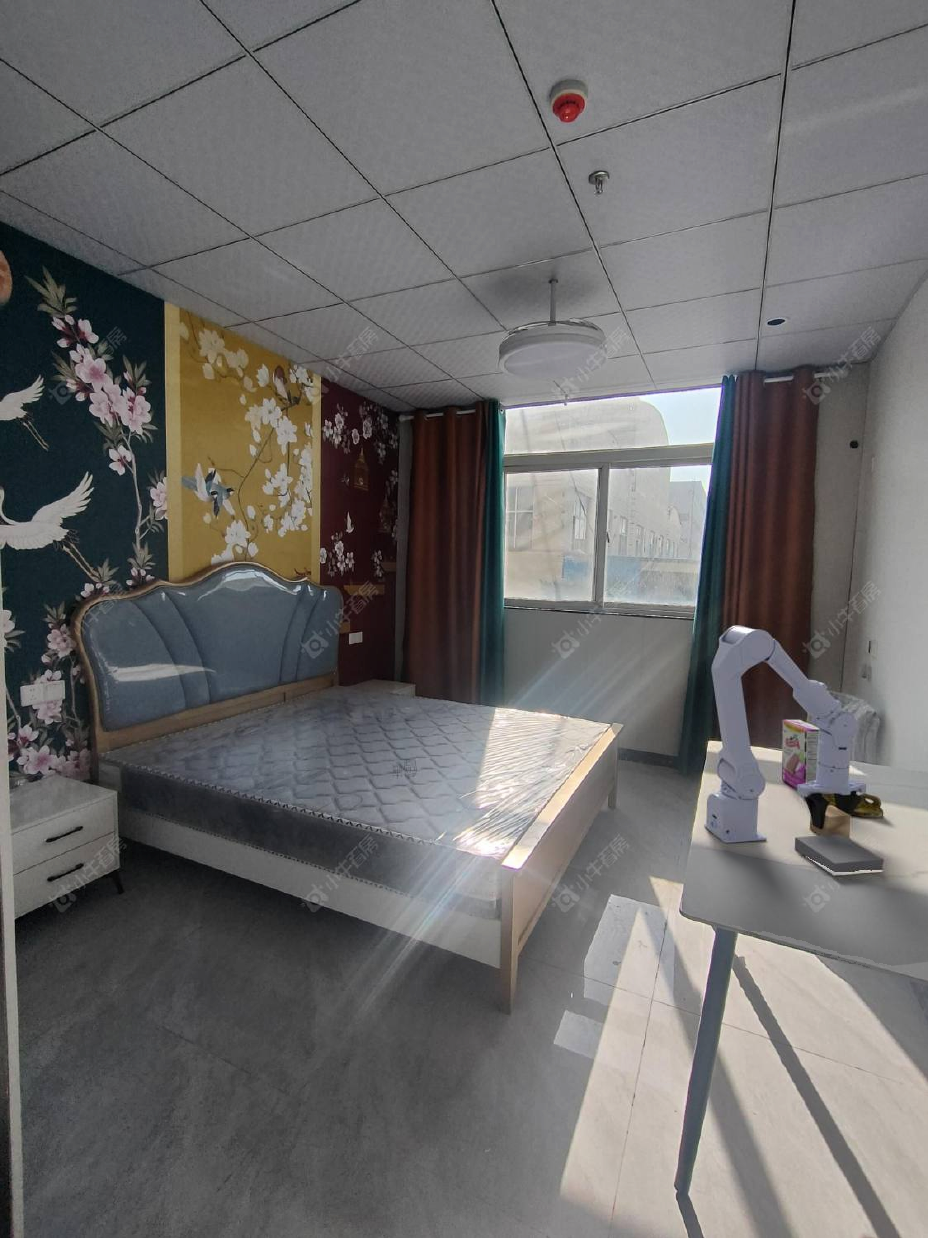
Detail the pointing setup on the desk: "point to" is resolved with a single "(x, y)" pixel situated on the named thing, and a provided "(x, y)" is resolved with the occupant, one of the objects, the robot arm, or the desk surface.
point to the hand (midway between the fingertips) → (829, 826)
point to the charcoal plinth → (838, 853)
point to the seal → (862, 805)
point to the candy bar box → (799, 752)
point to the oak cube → (834, 823)
